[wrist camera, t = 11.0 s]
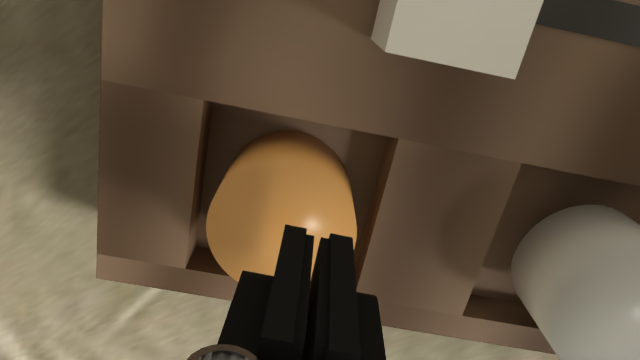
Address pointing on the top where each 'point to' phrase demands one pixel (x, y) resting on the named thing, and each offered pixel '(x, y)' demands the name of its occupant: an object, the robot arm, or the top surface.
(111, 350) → the top surface
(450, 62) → the slider knob
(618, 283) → the grey button
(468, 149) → the control panel
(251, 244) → the orange button
